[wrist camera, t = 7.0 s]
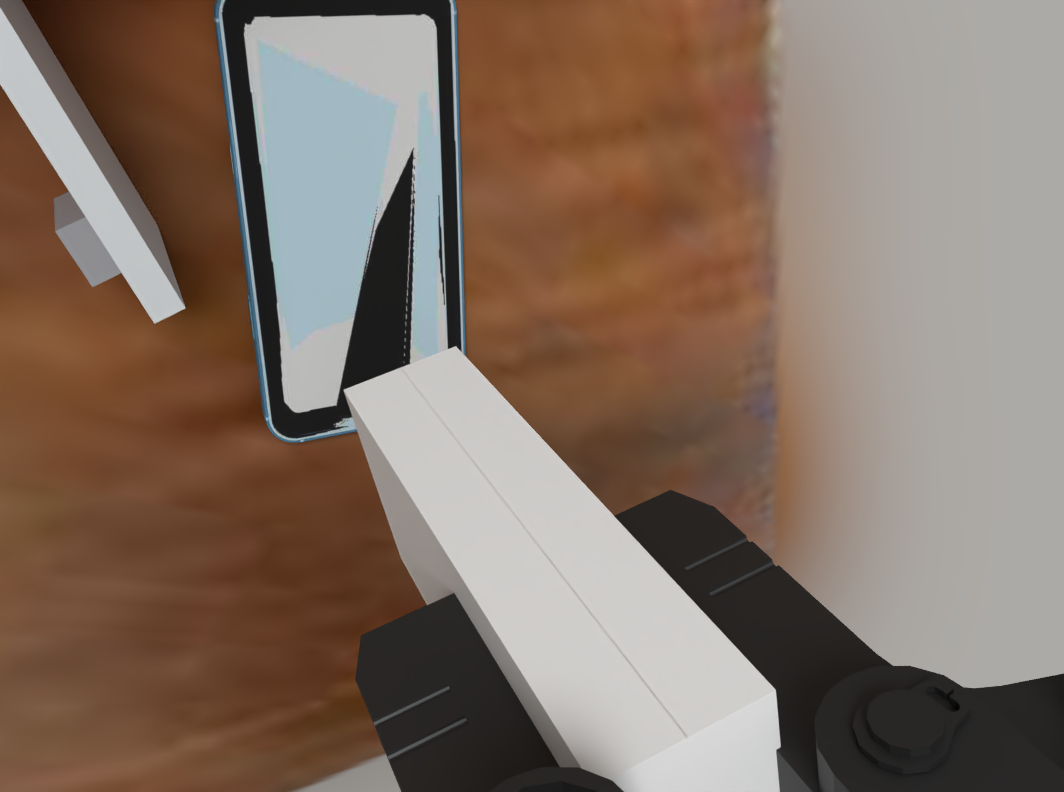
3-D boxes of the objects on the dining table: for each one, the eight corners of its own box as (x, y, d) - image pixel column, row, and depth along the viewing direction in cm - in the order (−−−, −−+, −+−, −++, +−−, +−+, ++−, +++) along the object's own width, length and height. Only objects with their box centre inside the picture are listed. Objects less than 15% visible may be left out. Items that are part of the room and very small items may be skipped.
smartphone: (457, -27, 31) (468, 410, 37) (447, -29, 31) (459, 400, 38) (209, -22, 28) (268, 448, 34) (204, -25, 29) (263, 436, 35)
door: (-130, -102, 24) (-185, -96, 18) (-53, -132, 24) (-82, -137, 18) (100, 252, 29) (115, 345, 23) (160, 223, 30) (190, 307, 24)
